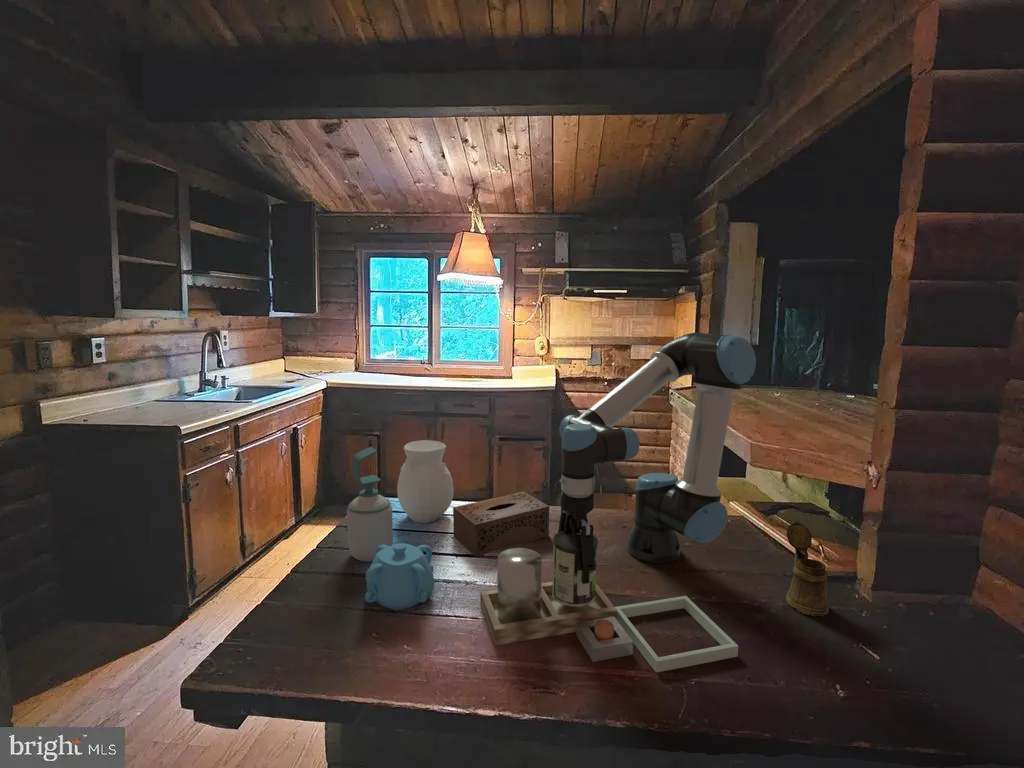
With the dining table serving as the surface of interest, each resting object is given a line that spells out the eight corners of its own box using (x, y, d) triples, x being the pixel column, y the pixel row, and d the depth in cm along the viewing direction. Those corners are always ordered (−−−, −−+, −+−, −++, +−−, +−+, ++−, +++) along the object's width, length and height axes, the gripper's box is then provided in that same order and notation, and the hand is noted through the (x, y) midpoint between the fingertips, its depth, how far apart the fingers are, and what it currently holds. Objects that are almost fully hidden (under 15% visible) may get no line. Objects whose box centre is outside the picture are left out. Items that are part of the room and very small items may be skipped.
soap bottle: (400, 557, 150) (396, 451, 144) (356, 569, 143) (351, 459, 138) (384, 540, 160) (380, 441, 155) (343, 551, 153) (338, 447, 148)
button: (608, 635, 116) (608, 618, 115) (616, 646, 112) (617, 629, 111) (591, 638, 115) (591, 621, 114) (598, 649, 111) (599, 632, 110)
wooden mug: (806, 586, 137) (813, 520, 134) (836, 617, 124) (845, 546, 121) (771, 585, 137) (778, 520, 134) (797, 616, 124) (805, 545, 121)
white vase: (428, 534, 164) (427, 457, 160) (386, 520, 174) (383, 447, 170) (465, 513, 180) (464, 442, 176) (424, 502, 190) (422, 434, 185)
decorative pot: (441, 581, 138) (440, 532, 135) (425, 618, 122) (424, 564, 120) (380, 578, 139) (378, 529, 137) (357, 614, 123) (354, 560, 121)
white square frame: (685, 605, 128) (685, 595, 128) (737, 656, 110) (738, 645, 110) (613, 616, 123) (614, 607, 123) (655, 672, 105) (656, 661, 105)
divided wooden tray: (590, 589, 134) (590, 576, 134) (616, 625, 120) (617, 610, 119) (480, 605, 127) (480, 591, 126) (494, 645, 113) (494, 629, 112)
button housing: (613, 628, 119) (613, 616, 118) (632, 654, 110) (633, 641, 110) (576, 634, 116) (576, 622, 116) (592, 662, 108) (593, 648, 107)
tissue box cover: (475, 557, 151) (475, 524, 149) (453, 537, 163) (453, 507, 161) (548, 536, 164) (549, 506, 162) (523, 519, 176) (523, 491, 174)
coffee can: (596, 585, 129) (598, 531, 126) (594, 610, 119) (596, 551, 116) (554, 580, 131) (555, 527, 128) (548, 604, 121) (550, 546, 118)
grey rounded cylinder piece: (533, 599, 128) (534, 545, 125) (546, 624, 118) (547, 566, 116) (492, 605, 125) (493, 550, 123) (503, 631, 116) (503, 572, 113)
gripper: (545, 476, 130) (543, 560, 134) (581, 513, 109) (577, 611, 112) (574, 474, 132) (571, 557, 136) (614, 509, 110) (609, 606, 114)
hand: (574, 581), depth 124 cm, fingers closed on coffee can, 10 cm apart
